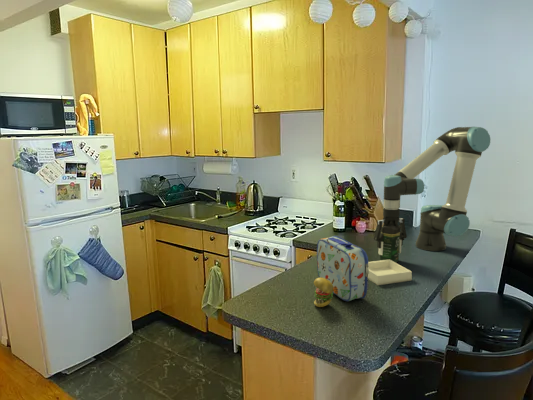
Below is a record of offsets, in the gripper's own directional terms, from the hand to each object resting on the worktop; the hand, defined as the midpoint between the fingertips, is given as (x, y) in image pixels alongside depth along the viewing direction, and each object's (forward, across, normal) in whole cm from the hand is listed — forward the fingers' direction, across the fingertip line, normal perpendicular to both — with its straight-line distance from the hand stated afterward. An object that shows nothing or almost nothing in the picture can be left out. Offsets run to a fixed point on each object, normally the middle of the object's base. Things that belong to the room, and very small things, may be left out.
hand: (389, 253), depth 185 cm
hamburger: (+4, +50, +34) cm, 61 cm away
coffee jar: (+4, 0, 0) cm, 4 cm away
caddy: (+4, +13, +16) cm, 21 cm away
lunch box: (+4, +38, +25) cm, 46 cm away
